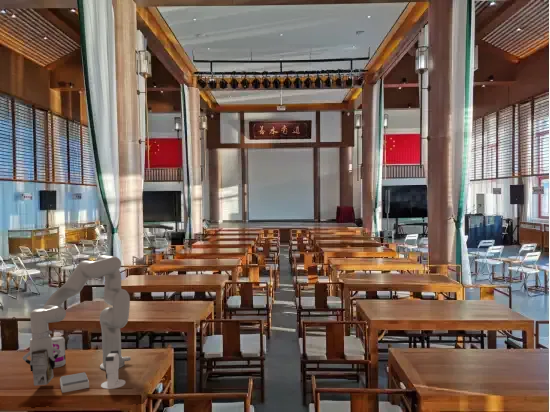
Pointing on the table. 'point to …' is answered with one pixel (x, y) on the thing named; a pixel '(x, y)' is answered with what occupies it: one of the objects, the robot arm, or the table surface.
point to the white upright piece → (112, 371)
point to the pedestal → (74, 382)
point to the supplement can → (60, 344)
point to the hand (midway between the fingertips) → (43, 370)
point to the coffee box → (42, 367)
